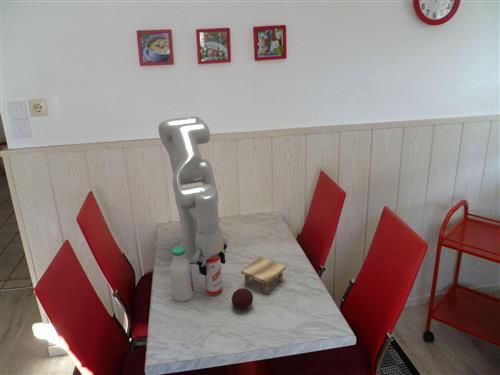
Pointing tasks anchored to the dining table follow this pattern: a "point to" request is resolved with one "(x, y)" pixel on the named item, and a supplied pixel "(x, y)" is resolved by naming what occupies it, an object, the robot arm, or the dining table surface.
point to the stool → (263, 272)
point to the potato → (242, 298)
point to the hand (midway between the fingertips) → (212, 268)
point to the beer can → (213, 275)
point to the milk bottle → (181, 275)
